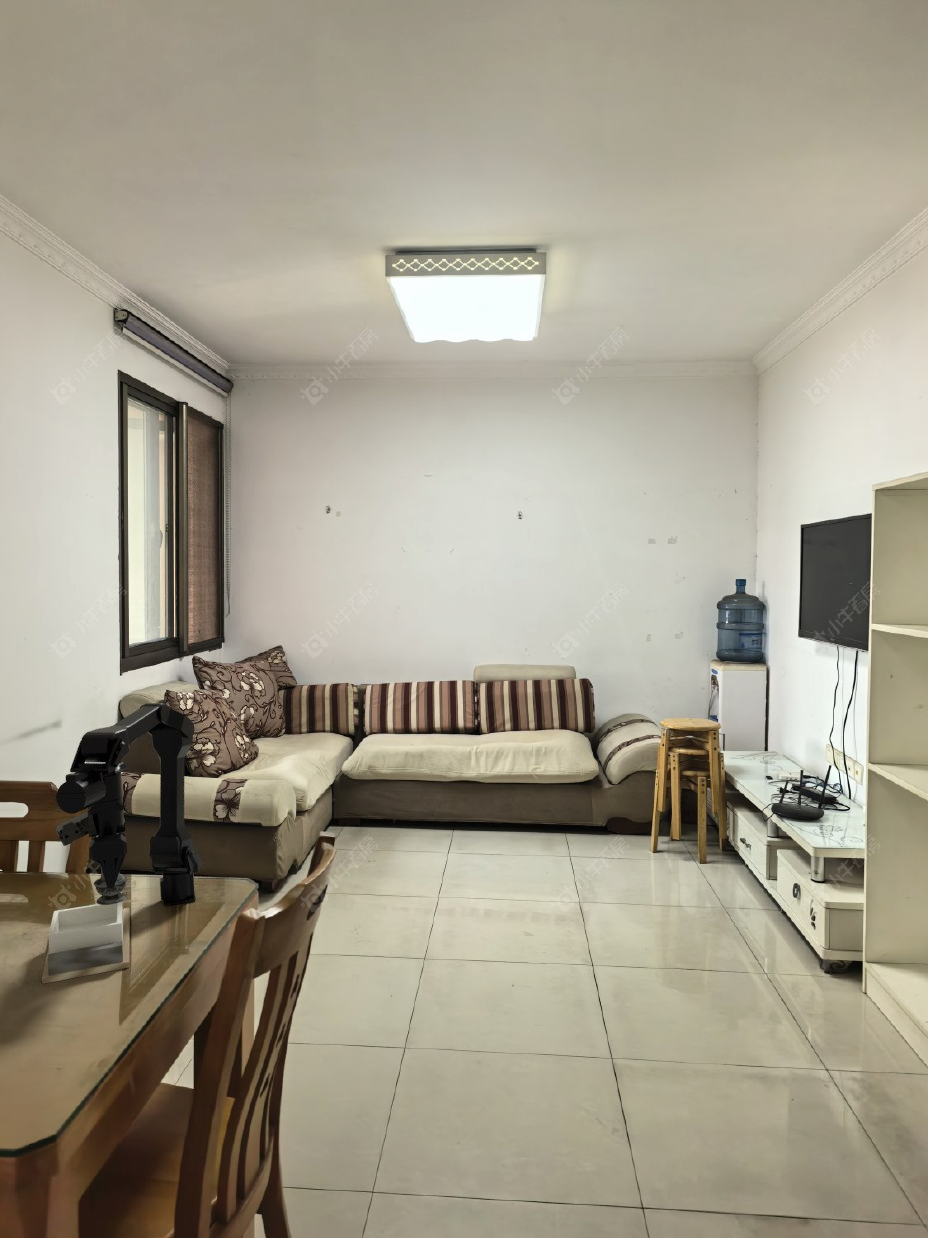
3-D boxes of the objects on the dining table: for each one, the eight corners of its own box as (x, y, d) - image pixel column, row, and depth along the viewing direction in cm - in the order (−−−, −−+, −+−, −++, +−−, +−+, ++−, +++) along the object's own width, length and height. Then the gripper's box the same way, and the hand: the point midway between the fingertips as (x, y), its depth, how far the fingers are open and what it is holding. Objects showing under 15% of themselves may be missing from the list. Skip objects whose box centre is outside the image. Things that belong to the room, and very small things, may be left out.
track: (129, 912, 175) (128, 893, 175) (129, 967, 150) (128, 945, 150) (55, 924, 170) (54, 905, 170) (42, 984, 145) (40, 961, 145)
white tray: (123, 927, 164) (122, 900, 164) (123, 952, 153) (121, 923, 153) (55, 938, 160) (54, 911, 160) (50, 965, 149) (48, 935, 148)
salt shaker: (135, 894, 159) (131, 832, 158) (114, 906, 153) (110, 842, 153) (109, 892, 161) (105, 830, 160) (87, 904, 155) (83, 840, 154)
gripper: (60, 792, 161) (64, 872, 162) (55, 817, 144) (60, 906, 145) (122, 785, 166) (126, 863, 167) (124, 808, 149) (129, 894, 149)
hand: (110, 880), depth 157 cm, fingers closed on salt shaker, 8 cm apart
